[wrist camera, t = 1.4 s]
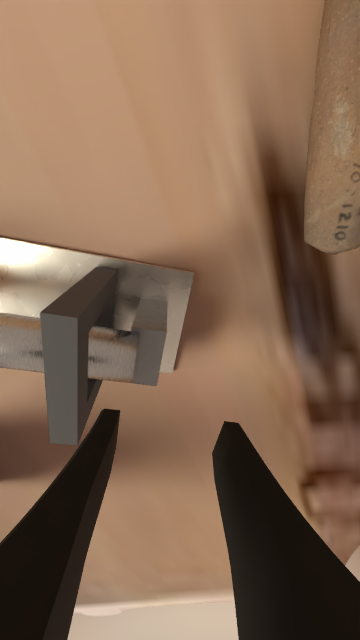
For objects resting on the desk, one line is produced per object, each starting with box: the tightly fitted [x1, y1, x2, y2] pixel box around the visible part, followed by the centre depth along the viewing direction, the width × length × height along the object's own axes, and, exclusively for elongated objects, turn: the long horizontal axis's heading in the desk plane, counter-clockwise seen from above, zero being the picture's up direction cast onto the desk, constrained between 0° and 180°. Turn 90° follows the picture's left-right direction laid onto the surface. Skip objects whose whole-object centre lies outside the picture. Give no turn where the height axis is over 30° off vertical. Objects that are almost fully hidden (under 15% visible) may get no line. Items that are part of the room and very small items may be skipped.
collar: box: [40, 267, 117, 445], centre depth 14 cm, size 1×8×8 cm, turn 169°
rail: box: [0, 237, 194, 386], centre depth 14 cm, size 22×9×8 cm, turn 79°
